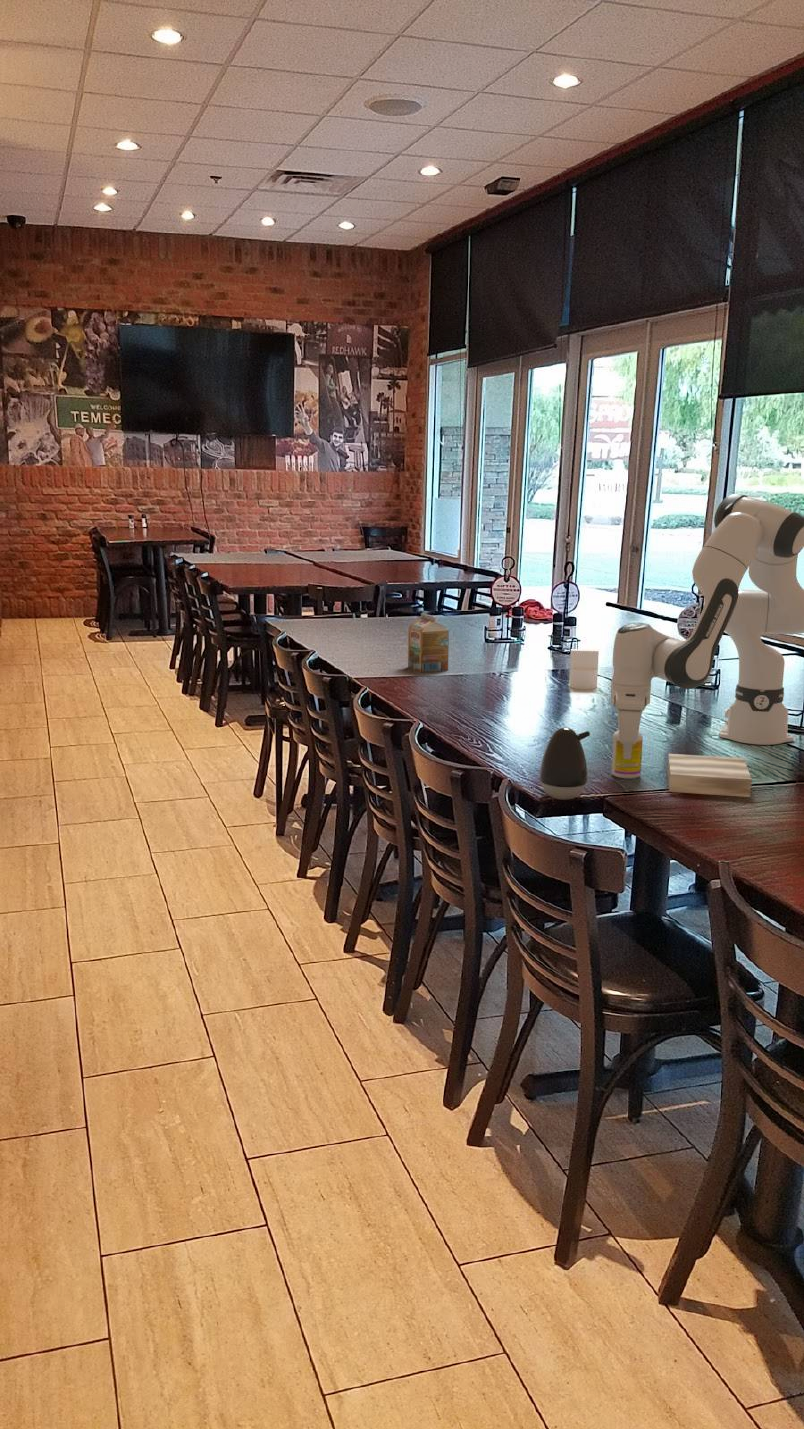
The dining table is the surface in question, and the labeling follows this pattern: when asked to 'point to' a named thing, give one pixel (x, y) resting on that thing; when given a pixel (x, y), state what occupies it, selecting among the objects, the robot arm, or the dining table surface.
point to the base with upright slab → (583, 668)
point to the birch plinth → (708, 775)
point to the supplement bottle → (626, 766)
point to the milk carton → (428, 645)
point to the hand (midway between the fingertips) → (627, 754)
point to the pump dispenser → (564, 765)
